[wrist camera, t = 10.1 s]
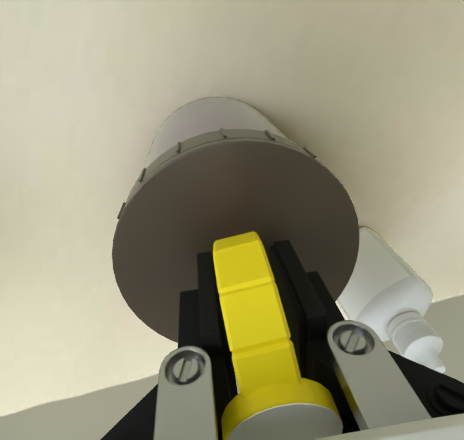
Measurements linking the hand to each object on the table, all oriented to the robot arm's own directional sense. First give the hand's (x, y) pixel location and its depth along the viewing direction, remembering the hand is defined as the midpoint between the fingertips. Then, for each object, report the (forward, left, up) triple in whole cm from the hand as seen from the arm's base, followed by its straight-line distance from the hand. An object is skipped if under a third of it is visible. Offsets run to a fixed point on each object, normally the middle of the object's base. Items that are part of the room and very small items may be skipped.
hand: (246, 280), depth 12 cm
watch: (0, 0, -1) cm, 1 cm away
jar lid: (0, 0, -2) cm, 2 cm away
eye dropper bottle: (-10, +9, -14) cm, 19 cm away
